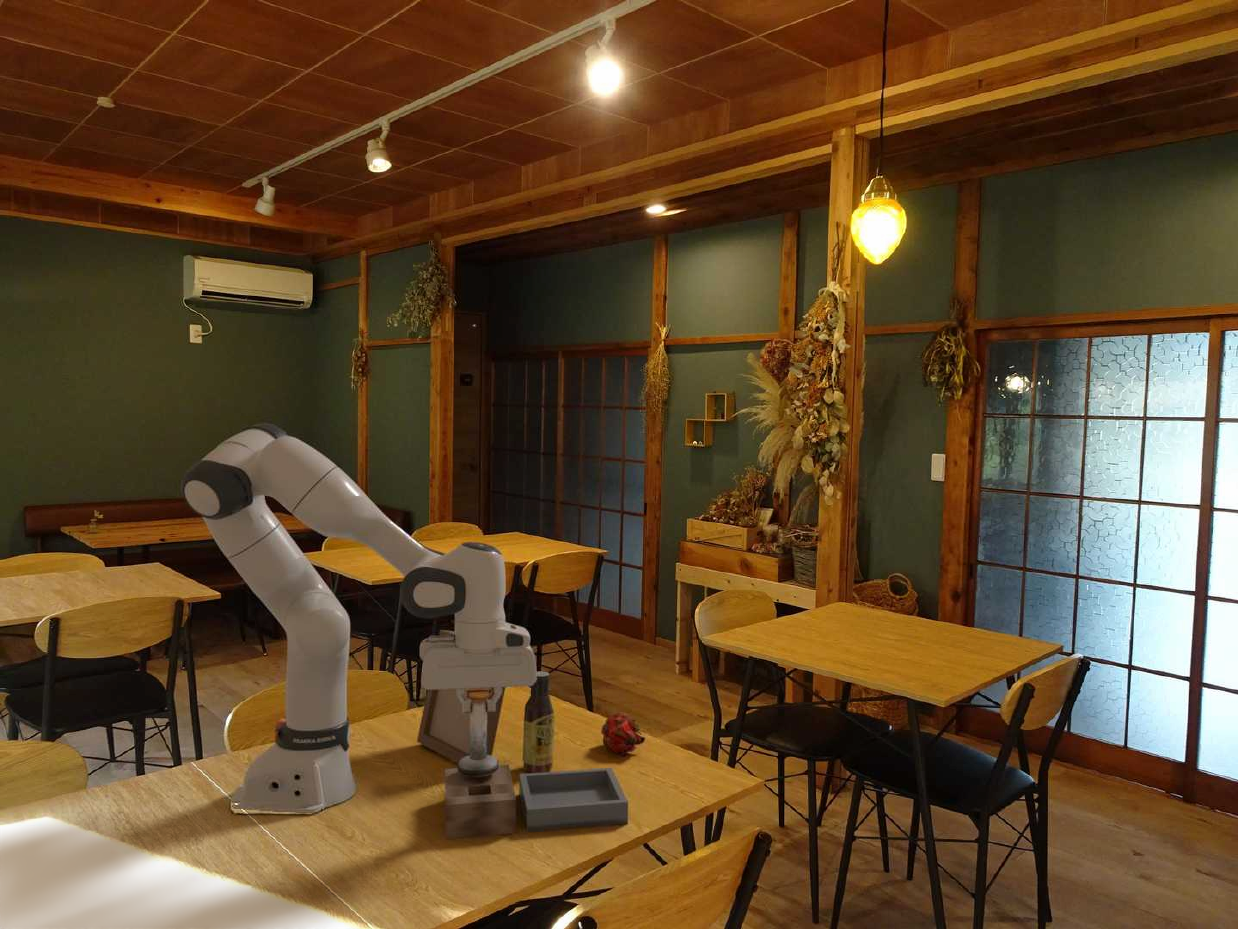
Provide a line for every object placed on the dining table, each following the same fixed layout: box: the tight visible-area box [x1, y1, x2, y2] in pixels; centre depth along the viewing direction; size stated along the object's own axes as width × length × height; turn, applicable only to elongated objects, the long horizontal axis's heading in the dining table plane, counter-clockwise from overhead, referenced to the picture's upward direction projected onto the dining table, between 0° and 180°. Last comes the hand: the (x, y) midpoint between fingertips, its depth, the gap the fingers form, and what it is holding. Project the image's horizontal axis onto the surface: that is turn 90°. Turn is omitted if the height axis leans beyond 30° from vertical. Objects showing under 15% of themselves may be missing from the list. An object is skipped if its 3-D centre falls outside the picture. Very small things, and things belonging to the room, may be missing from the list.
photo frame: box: [416, 629, 506, 764], centre depth 195 cm, size 15×22×25 cm
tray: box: [518, 767, 629, 833], centre depth 168 cm, size 18×16×4 cm
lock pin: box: [466, 688, 492, 760], centre depth 161 cm, size 4×4×12 cm
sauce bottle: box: [522, 671, 555, 773], centre depth 186 cm, size 6×6×20 cm
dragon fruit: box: [600, 712, 646, 756], centre depth 197 cm, size 8×8×12 cm
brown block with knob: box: [444, 755, 517, 840], centre depth 164 cm, size 12×16×9 cm
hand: (478, 711), depth 161 cm, fingers closed on lock pin, 3 cm apart
